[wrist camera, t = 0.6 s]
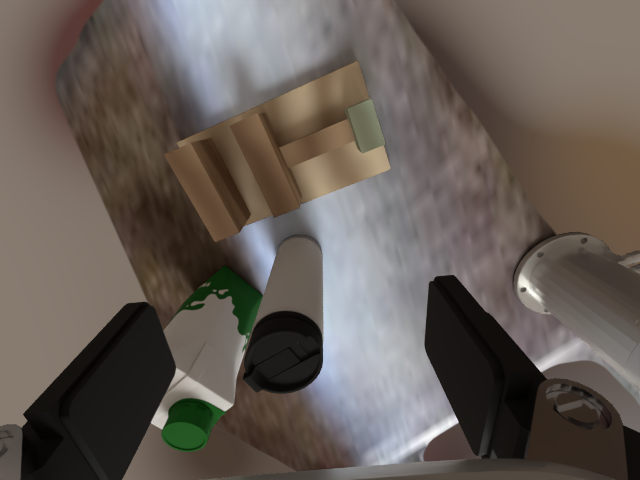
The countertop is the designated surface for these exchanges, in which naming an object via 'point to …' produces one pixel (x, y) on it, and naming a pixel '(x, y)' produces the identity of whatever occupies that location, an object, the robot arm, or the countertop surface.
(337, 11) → the countertop surface
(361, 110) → the sliding jaw
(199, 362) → the milk carton
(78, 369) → the robot arm
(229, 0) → the countertop surface
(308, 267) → the travel mug
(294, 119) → the base
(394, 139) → the countertop surface
